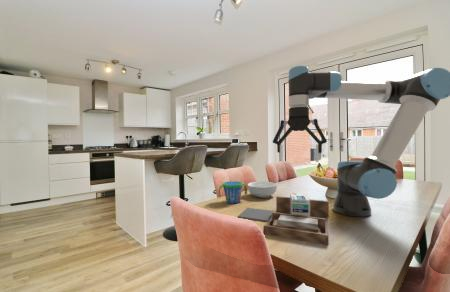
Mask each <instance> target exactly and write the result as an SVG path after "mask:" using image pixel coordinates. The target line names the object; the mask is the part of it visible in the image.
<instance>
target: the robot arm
mask: <svg viewBox="0 0 450 292" xmlns="http://www.w3.org/2000/svg"><path fill="white" fill-rule="evenodd" d="M342 77H343V76H342V75H341V73H340V72H338V71H317V72H316V71H315V72H314V71H313V72H312V71H310V68H309V67H308V66H307V65H296V66H293V67H291V68H290V69H289V70H288V107H289V108H288V119H287V120H283V119H281V120H280V124H279V128H278V130H277V132H276V134H275V136H274V138H273V140H272V143H273V144H276V147H277V153H279V162H283V161H284V144H283V142H284V141H285V140H286V139H287V137H289V135H290V134H291V133H292V132H299V131H301V132H304V131H306V132H307V133H308V134H309V136H310V137H311V138H312V139H313V140H314V141H315V142H316V143H317V144H315V162H316V163H319V161H320V159H319V158H320V157H319V154H322V151H323V147H322V146H323V144H326V143H327V142H328V141H327V138H326V137H325V135H324V132H323V130H322V129H321V128H320V125H319V122H318V119H317V118H314V119H310V109H309V107H308V106H310V103H309V102H310V100H312V99H315V98H316V99H317V98H318V99H342V100H360V101H361V100H363V101H366V100H367V101H377V102H379V103H381V104H392V105H394V104H395V105H400V106H399V107H398V108H397V111H396V112H395V114H394V115H393V118H392V119H391V121H390V123H389V124H388V126H387V127H386V129H385V131H384V133H383V134H382V136H381V138H380V139H379V141H378V143H377V145H376V147H375V149H374V150H373V152H372V154H371V155H369V156H366V157H364V159H363V160H349V161H348V160H347V161H345V160H343V161H339V162H338V163H337V169H336V170H337V174H336V175H337V179H336V181H337V193H336V196H335V199H334V202H333V203H332V204H333V205H332V207H333V209H332V210H333V211H334V212H336V213H337V214H340V215H344V216H350V217H361V218H363V217H369V216H371V214H372V208H371V204H370V202H369V199H368V198H372V199H377V200H380V199H384V198H388V197H389V196H391V195H392V194H393V193H394V192H395V191H396V188H397V184H398V181H397V177H396V174H397V172H398V170H397V167H396V166H397V163H398V162H399V160H400V158H401V157H402V156H403V153H404V152H405V150H406V148H407V147H408V145H409V143H410V141H411V140H412V138H413V137H414V135H415V134H416V131H417V130H418V128H419V126H420V124H421V123H422V121H423V120H424V118H425V116H426V115H427V113H428V112H430V111H434V110H435V109H436V108H437V105H438V104H439V102H440V100H444V99H446V98H448V97H450V71H449V70H448V69H446V68H443V67H434V68H428V69H425V70H424V71H420V72H417V73H415V74H412V75H409V76H406V77H402V78H400V79H393V80H383V81H381V82H369V81H367V82H366V81H345V80H344V81H343V78H342ZM310 124H312V125H313V126H314V128H315V130H316V131H317V133H318V135H319V136H320V138H321V140H320V138H319V137H318V136H316V134H315V133H314V132H313V131H312V130H311V129H310V128H309V125H310ZM287 125H288V126H289V127H288V128H287V130H286V131H285V133H284V134H283V135H282V136H281V134H282V133H283V130H284V128H285V127H286V126H287ZM280 136H281V137H280Z"/></svg>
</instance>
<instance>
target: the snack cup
mask: <svg viewBox="0 0 450 292" xmlns="http://www.w3.org/2000/svg"><path fill="white" fill-rule="evenodd" d="M243 186H244V195H247V194H248V186H247V185H246V184H245V183H243V182H242V181H238V180H237V181H236V180H235V181H234V180H233V181H232V180H231V181H230V180H229V181H224V182H223V183H222V184H220V186H219V188H218V191H217V194H218V197H219V198H221V189H222V188H223V192H224V196H225V201H226V203H228V204H239V203H240V202H241V196H242V189H243Z"/></svg>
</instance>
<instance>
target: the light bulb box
mask: <svg viewBox="0 0 450 292" xmlns="http://www.w3.org/2000/svg"><path fill="white" fill-rule="evenodd" d="M289 195H290V196H289V197H290V207H291V214H293V215H301V216H309V217H310V198H309V197H308V195H307V193H297V192H296V193H293V192H290V193H289Z"/></svg>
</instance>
